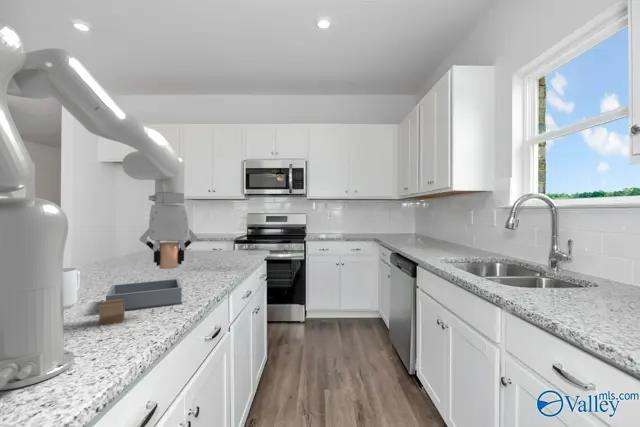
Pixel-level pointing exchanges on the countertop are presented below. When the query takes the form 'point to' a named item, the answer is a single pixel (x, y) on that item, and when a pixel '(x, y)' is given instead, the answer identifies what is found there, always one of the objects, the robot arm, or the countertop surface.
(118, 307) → the walnut cube
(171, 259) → the terracotta cylinder
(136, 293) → the tote
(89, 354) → the countertop surface
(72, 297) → the mug
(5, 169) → the robot arm
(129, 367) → the countertop surface
